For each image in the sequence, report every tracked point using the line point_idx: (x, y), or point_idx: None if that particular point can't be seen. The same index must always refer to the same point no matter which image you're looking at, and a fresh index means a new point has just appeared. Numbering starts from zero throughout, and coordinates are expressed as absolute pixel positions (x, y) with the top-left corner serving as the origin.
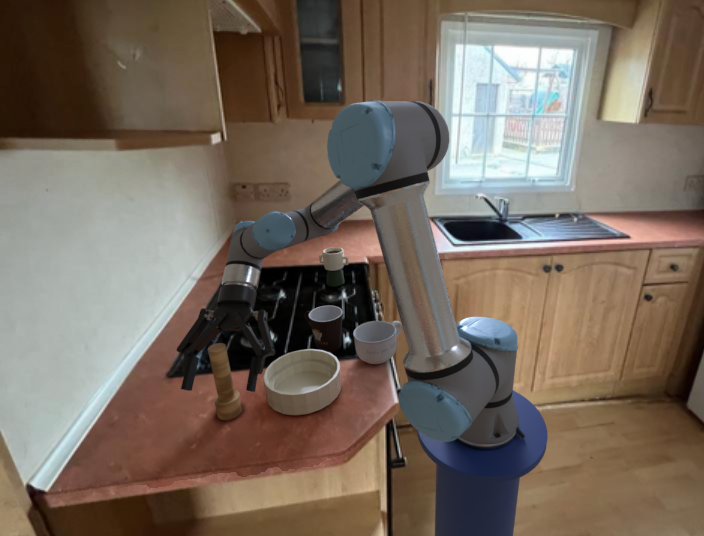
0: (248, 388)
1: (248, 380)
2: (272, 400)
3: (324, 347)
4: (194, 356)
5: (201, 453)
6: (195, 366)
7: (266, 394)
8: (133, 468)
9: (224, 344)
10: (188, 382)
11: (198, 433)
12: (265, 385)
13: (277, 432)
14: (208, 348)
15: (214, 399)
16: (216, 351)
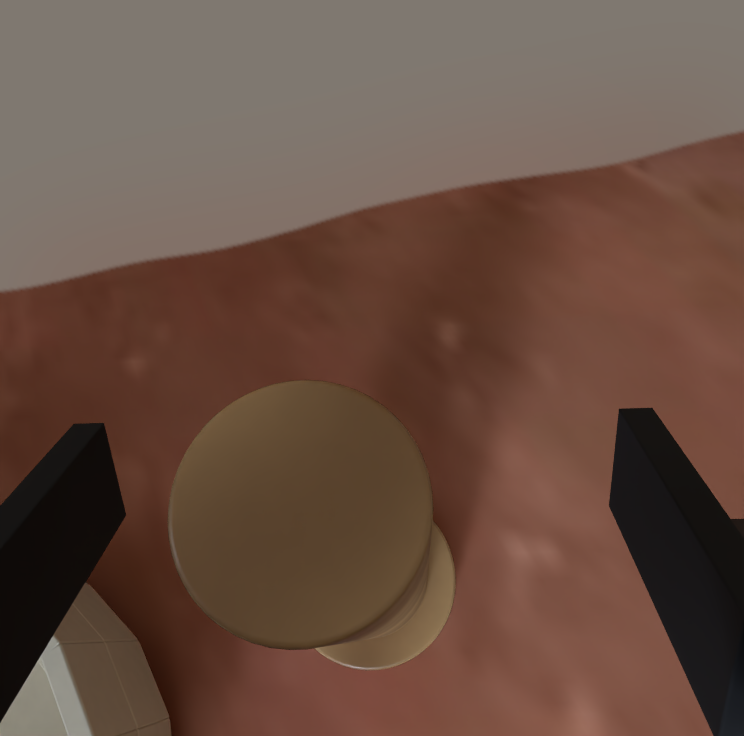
0: (81, 429)
1: (63, 462)
2: None
3: None
4: (736, 656)
5: (386, 294)
6: (682, 629)
7: (117, 658)
8: (647, 203)
9: (201, 593)
10: (632, 470)
11: (475, 411)
12: (59, 636)
13: (55, 439)
14: (416, 462)
15: (446, 543)
16: (253, 395)
